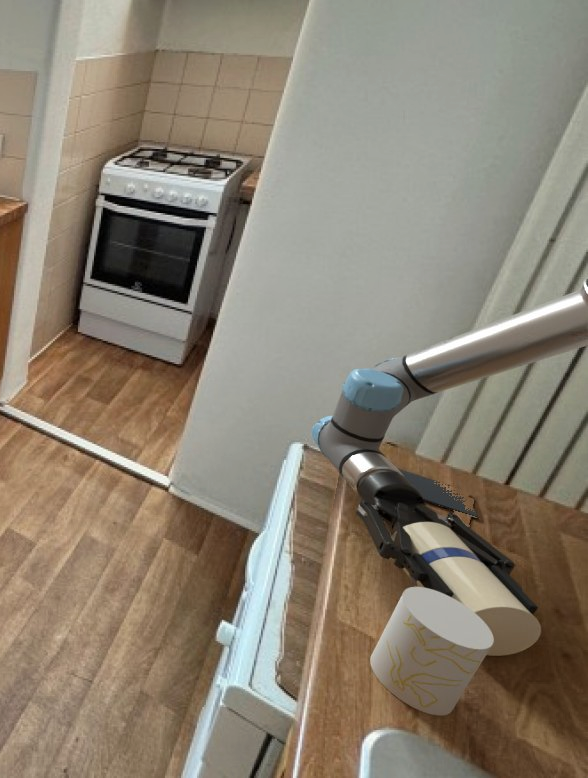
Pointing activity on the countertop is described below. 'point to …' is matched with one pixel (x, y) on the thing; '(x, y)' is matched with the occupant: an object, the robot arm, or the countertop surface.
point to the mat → (436, 493)
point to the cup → (430, 650)
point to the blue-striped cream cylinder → (474, 587)
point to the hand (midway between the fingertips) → (488, 606)
